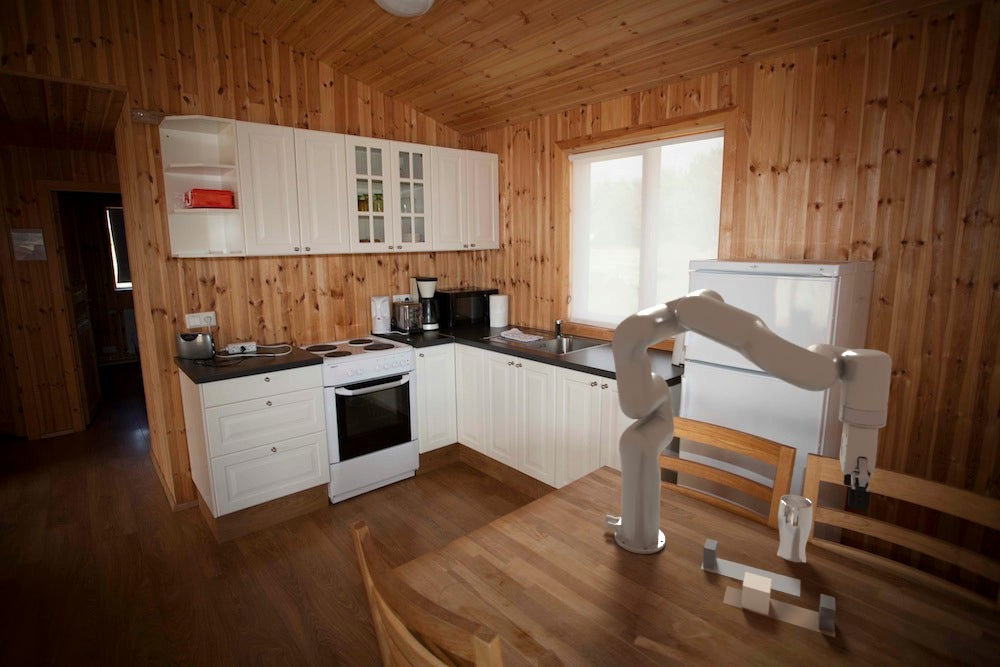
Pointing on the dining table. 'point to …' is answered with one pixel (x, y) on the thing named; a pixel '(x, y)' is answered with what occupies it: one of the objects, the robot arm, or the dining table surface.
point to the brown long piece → (793, 612)
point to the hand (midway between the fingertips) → (855, 496)
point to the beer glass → (794, 527)
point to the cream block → (756, 593)
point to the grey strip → (745, 570)
